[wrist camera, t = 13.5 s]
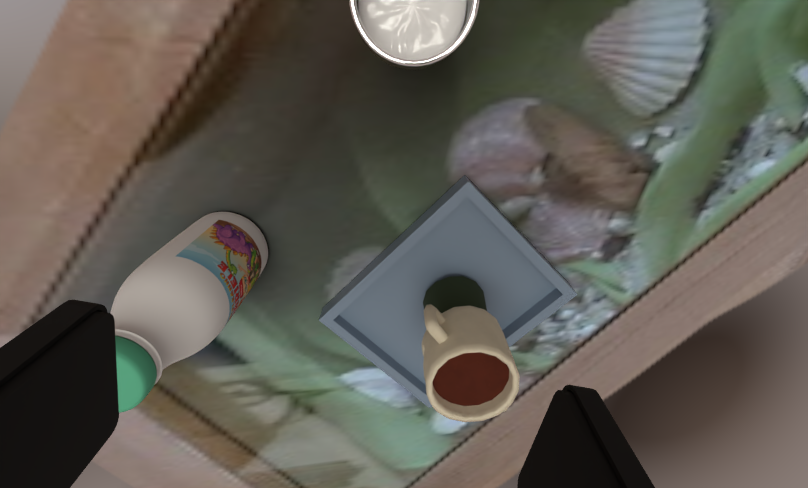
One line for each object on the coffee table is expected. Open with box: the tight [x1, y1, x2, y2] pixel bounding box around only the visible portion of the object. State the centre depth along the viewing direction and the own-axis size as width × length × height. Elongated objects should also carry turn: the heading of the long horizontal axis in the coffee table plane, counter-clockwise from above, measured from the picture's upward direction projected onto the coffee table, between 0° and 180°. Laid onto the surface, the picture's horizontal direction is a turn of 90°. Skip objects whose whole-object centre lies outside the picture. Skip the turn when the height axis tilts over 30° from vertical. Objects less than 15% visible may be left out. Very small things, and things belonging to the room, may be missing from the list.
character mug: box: [422, 276, 519, 422], centre depth 38 cm, size 11×7×13 cm, turn 38°
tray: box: [319, 175, 577, 408], centre depth 44 cm, size 20×16×2 cm
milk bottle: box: [111, 212, 268, 412], centre depth 34 cm, size 8×8×20 cm
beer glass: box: [349, 0, 480, 70], centre depth 28 cm, size 7×7×15 cm
